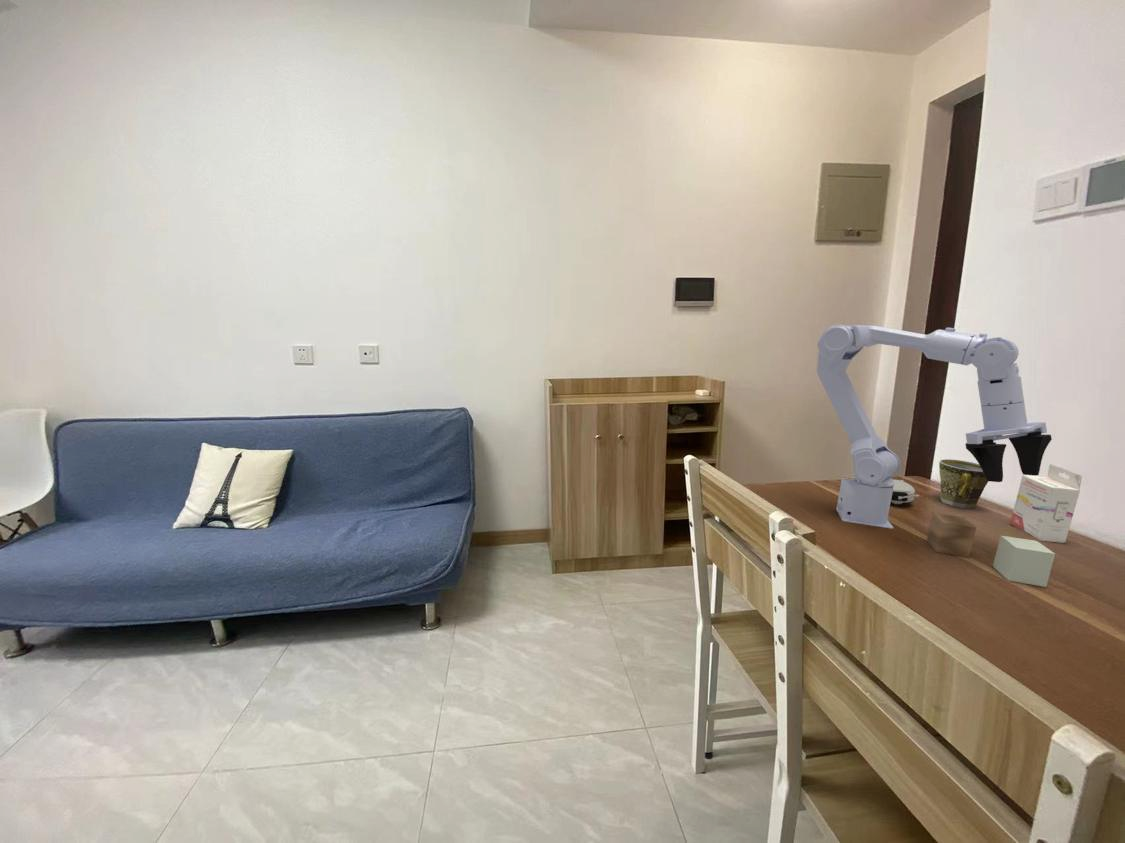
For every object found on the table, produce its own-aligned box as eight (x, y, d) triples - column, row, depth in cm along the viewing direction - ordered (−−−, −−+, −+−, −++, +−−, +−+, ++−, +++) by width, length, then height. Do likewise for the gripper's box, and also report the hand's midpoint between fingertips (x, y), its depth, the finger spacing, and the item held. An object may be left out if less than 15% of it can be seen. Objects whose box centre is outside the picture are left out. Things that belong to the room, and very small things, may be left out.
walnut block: (936, 551, 87) (943, 522, 86) (926, 540, 92) (932, 512, 90) (969, 557, 85) (976, 527, 84) (957, 545, 90) (964, 517, 89)
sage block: (1007, 580, 78) (1016, 547, 76) (992, 566, 82) (1000, 535, 81) (1046, 587, 76) (1055, 553, 75) (1028, 572, 81) (1036, 540, 79)
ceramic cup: (930, 493, 121) (938, 456, 119) (980, 502, 116) (989, 464, 113) (933, 508, 111) (942, 468, 109) (988, 519, 105) (998, 477, 103)
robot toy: (846, 504, 114) (920, 511, 108) (848, 487, 113) (922, 492, 107) (838, 489, 125) (905, 494, 119) (839, 473, 124) (906, 477, 118)
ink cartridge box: (1007, 524, 103) (1023, 460, 100) (1033, 526, 102) (1050, 463, 99) (1038, 541, 95) (1056, 472, 92) (1066, 544, 94) (1086, 475, 91)
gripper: (990, 408, 78) (1002, 486, 78) (1062, 396, 80) (1073, 473, 80) (950, 410, 85) (961, 482, 85) (1017, 399, 87) (1027, 470, 87)
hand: (1012, 478), depth 83 cm, fingers open, 7 cm apart
